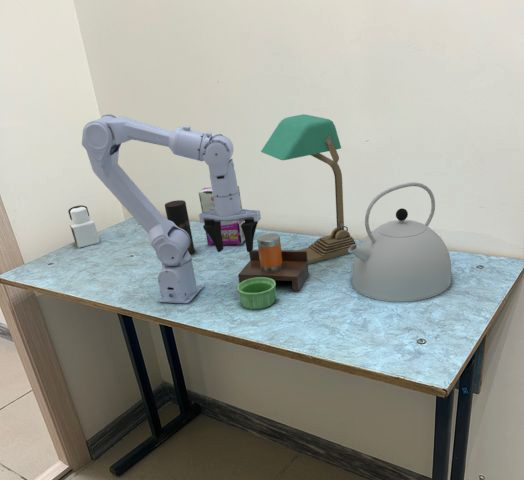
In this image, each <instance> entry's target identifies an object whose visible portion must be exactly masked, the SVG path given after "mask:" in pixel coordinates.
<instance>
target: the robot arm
mask: <svg viewBox="0 0 524 480" xmlns="http://www.w3.org/2000/svg"><path fill="white" fill-rule="evenodd" d="M129 141H138V142H143V143H146V144H147V143H148V144H152V145H157V146H163V147H167V148H169V150H170V151H171V152H172V154H173V155H175V156H178V157H183V158H185V159H186V158H187V159H191V160H196V161H199V162H204V163H205V164H206V165H207V166H208V170H209V180H210V185H211V187H212V191H213V197H214V203H215V208H216V211H210V212H202V211H201V213H199V214H198V218H199V222H200V223H203V224H204V222H205V225H203V226H202V228H203V230H204V231H205V233H206V232H207V233H208V235H209V236H210V237H211V239H212V241H213V243H214V245H213V246H215V249H216V251H217V253H221V252H222V251H223V250H224V245H223V241H222V236H221V221H244V223H243V224H242V225H241V228H242V230H243V233H244V237H245V249H246V252H247V253H249V252H251V251H252V250H254V239H255V233H256V230H257V226H258V223H259V221H260V220H262V216H261V210H258V209H257V210H255V209H247V208H246V209H245V208H242V209H241V206H240V200H239V193H238V186H239V185H238V180H237V174H236V170H235V164H234V158H232V156H233V155H234V144H233V142H232V140H231V139H230V138H229V137H227V136H226V135H224V134H222V133H217V134H214V135H213V132H210V131H207V132H206V133H204V132H201V131H197V130H193V129H191V126H190V125H186V124H185V125H183V126H182V127H181V126H177V128H175V129H173V130H169V129H165V128H162V127H159V126H155V125H152V124H150V123H146V122H143V121H139V120H136V119H132V118H130V117H127V116H126V117H125V116H122V115H117V116H116V115H114V114H110V113H109V114H103V115H102V116H100V117H98V118H97V119H95V120H90V121H88V122H86V124H85V125H84V127H83V129H82V136H81V146H82V147H83V148H84V149H85V151H86V154H87V157H88V160H89V163H90V167H91V169H92V171H93V173H94V175H95V176H96V177H97V178H98V179H99V180H100V181H101V182H102V184H103V185H104V186H105V187H106V188H107V189H108V190H109V192H111V193H112V195H113V197H115V198H116V200H117V201H118V202H119V203H121V205H122V206H123V207H124V209H125V210H126V211H127V212H128V213H129V214H130V215H131V216H132V218H134V220H135V221H136V222H137V223H138V224H139V225H140V226H141V227H142V229H143V230H144V231H145V232H146V233H147V235H148V240H149V244H150V246H151V247H152V248H153V250H154V251H155V254H156V258H157V259H158V260H159V261H160V262H161V270H160V272H159V273H158V276H157V282H158V286H159V290H160V295H161V298H159V303H171V304H172V303H173V304H189V303H191V301H192V300H193V299H194V298H195V297H196V296H197V295H198V294H199V293H200V292H201V290H202V289H203V288H204V285H203V284H197V280H196V275H195V270H194V265H193V259H192V255H190V254H189V252H188V248H189V246H190V237H189V235H188V233H187V232H186V231H185V230H183V229H181V228H179V227H177V226H176V225H175V224H174V222H172V221H170V220H168V219H167V218H165V217H164V216H163V214H162V213H161V212H160V211H159V210H158V209H157V207H156V206H155V205H154V204H153V203H152V202H151V200H150V199H149V198H148V197H147V196H146V195H145V194H144V192H143V191H142V190H141V189H140V187H138V185H136V183H135V182H134V180H132V179H131V177H130V176H129V175H128V174H127V173H126V172H125V170H124V169H123V167H121V166H120V164H119V155H120V154H119V153H120V148H121V145H122V144H123V143H127V142H129Z"/></svg>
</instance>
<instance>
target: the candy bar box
mask: <svg viewBox="0 0 524 480" xmlns="http://www.w3.org/2000/svg"><path fill="white" fill-rule="evenodd" d="M237 186H238V193H239V200H240V206H241V209H243V205H242V198H241V191H240V186H239V185H237ZM198 197H199V202H200V207H201V208H200V209H201V213H202V212H210V211H216V208H215V203H214V197H213V191H212V186H211V187H204V188H202V189H201V190H199V191H198ZM244 222H245V221H221V236H222V241H223V246H242V245H243V244H244V243H246V241H245V237H244V233H243V230H242V228H241V225H242V224H243V223H244ZM203 224H204V225H205V222H204V223H203ZM204 225H203V226H204ZM205 236H206V242H207V246H215V245H214V243H213V241H212V239H211V237H210V236H209V235H208V233H207V232H206V231H205Z"/></svg>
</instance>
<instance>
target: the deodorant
mask: <svg viewBox="0 0 524 480" xmlns="http://www.w3.org/2000/svg"><path fill="white" fill-rule="evenodd" d="M187 207H188V206H187V203H186V201H185V200H182V199H177V200H172V201H168V202H165V204H164V209H165V214H166V219H167V220H170V221H172V222H174V224H175V225H176V226H177V227H179V228H181V229H183V230H185V231H186V232H187V233H188V235H189V237H190V246H189V248H188V252H189V254H190V255H191V256H192V255H194V254H195V253H196V250H195V245H194V240H193V234H192V230H191V229H192V228H191V224H190V219H189V214H188V213H189V212H188V208H187Z"/></svg>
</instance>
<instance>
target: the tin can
mask: <svg viewBox="0 0 524 480" xmlns="http://www.w3.org/2000/svg"><path fill="white" fill-rule="evenodd" d="M256 240H257V250H258V251H259V259H260V266H261V271H262V272H265V273H274V272H278V271H280V270H282V268H283V264H282V252H281V250H282V244H281V237H280V235H279V234H278V233H265V234H261V235H259V236H257V238H256Z"/></svg>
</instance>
